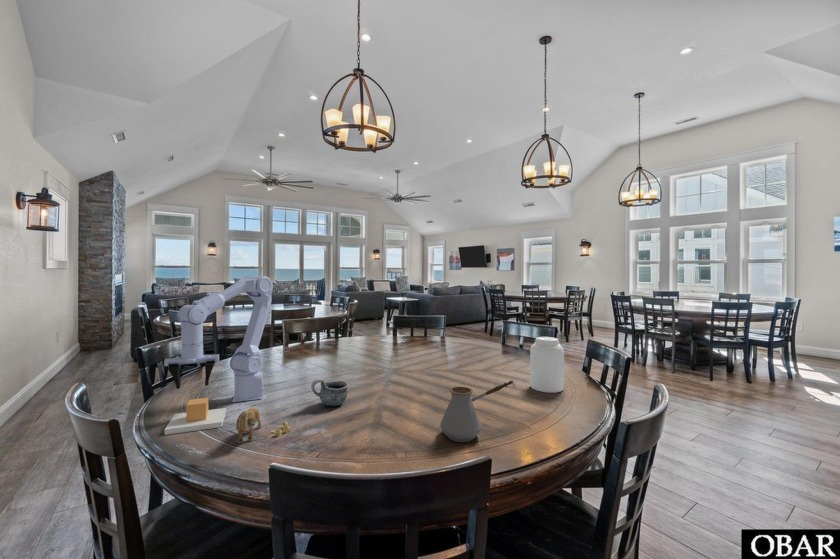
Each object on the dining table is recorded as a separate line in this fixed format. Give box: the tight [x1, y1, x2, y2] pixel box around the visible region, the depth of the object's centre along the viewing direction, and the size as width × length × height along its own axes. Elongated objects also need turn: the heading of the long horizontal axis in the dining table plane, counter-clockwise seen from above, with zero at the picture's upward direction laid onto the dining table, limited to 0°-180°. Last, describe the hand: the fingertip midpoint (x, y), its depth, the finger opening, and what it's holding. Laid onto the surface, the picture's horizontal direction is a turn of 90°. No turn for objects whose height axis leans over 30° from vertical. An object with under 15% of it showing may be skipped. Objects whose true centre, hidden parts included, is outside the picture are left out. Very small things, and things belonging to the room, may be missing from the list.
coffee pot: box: [439, 380, 517, 443], centre depth 103 cm, size 21×12×15 cm, turn 97°
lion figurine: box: [236, 407, 262, 445], centre depth 101 cm, size 15×5×9 cm, turn 18°
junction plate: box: [164, 407, 227, 436], centre depth 110 cm, size 14×12×5 cm
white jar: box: [529, 336, 565, 394], centre depth 145 cm, size 12×12×20 cm
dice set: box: [270, 422, 291, 438], centre depth 104 cm, size 5×5×2 cm
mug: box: [310, 377, 349, 407], centre depth 125 cm, size 10×12×10 cm
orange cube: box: [185, 397, 209, 422], centre depth 110 cm, size 5×5×5 cm
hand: (192, 386), depth 115 cm, fingers open, 7 cm apart
